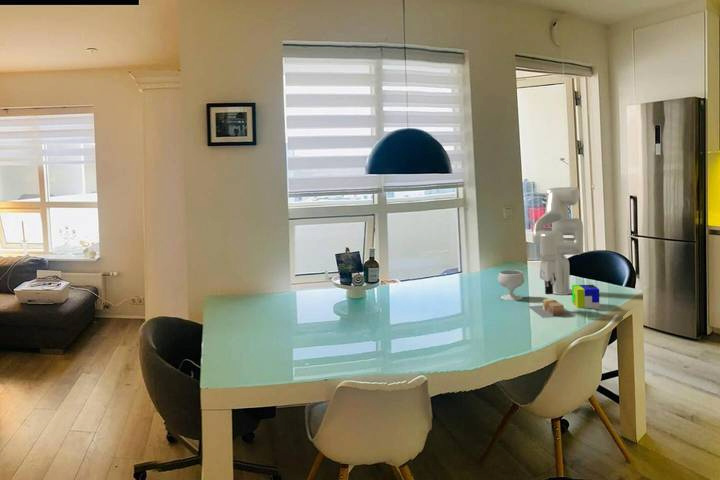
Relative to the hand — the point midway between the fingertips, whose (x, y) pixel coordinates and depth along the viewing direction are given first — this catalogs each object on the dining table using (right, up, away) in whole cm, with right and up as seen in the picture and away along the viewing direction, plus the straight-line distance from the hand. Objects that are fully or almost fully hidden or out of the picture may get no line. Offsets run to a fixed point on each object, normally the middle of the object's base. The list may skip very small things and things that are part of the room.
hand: (549, 293), depth 222 cm
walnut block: (+1, -5, +2) cm, 6 cm away
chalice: (-9, -6, +28) cm, 30 cm away
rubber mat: (+1, -9, -1) cm, 9 cm away
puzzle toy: (+21, -7, +5) cm, 22 cm away
